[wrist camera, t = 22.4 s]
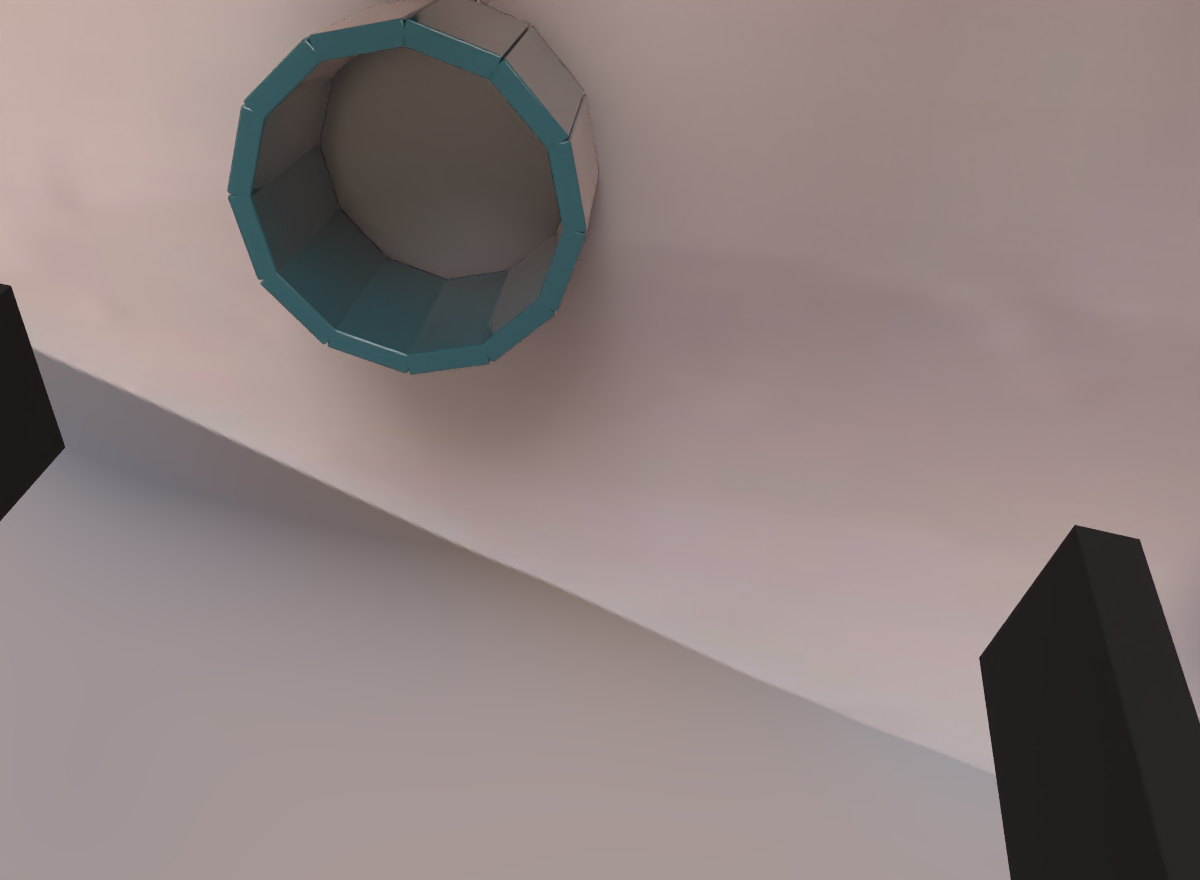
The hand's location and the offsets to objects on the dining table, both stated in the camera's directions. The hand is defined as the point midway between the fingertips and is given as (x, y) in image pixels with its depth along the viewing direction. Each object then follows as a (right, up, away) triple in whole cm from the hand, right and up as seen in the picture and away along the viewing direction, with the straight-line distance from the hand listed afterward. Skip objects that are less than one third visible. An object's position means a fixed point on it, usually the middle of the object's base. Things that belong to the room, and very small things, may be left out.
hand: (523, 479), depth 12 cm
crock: (-5, +12, +26) cm, 29 cm away
